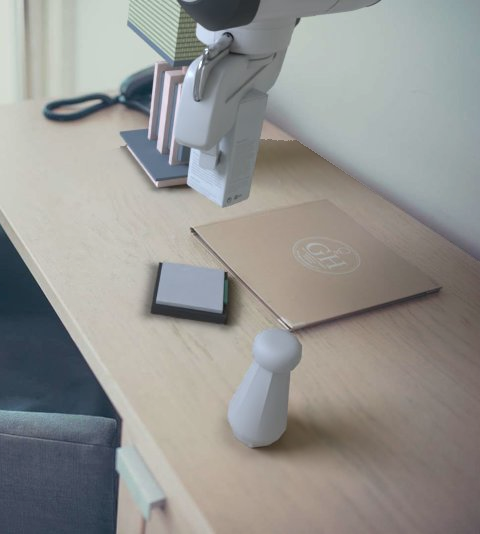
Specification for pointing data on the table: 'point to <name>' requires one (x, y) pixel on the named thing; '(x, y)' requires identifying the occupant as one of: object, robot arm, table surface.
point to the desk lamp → (164, 87)
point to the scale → (190, 292)
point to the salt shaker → (265, 389)
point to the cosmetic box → (233, 155)
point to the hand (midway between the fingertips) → (220, 153)
